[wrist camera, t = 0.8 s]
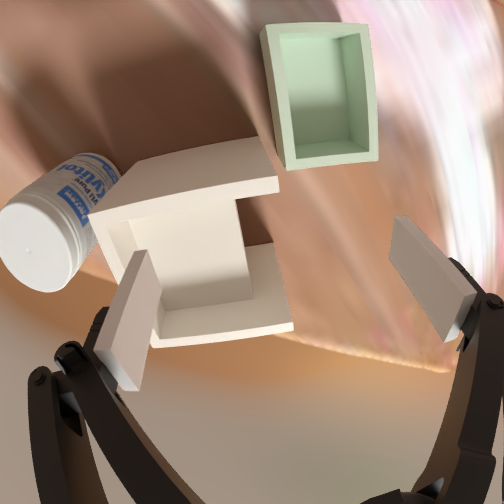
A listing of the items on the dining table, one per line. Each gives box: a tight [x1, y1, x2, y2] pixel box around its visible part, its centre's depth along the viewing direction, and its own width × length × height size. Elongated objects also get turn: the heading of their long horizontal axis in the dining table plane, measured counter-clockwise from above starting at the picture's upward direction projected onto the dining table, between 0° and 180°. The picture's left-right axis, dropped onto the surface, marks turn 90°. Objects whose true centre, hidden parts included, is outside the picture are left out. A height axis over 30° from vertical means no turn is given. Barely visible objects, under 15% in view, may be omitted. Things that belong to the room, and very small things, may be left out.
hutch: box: [87, 136, 293, 348], centre depth 29 cm, size 15×14×14 cm
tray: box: [259, 22, 378, 171], centre depth 26 cm, size 10×14×6 cm
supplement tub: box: [0, 153, 121, 292], centre depth 26 cm, size 10×10×15 cm
